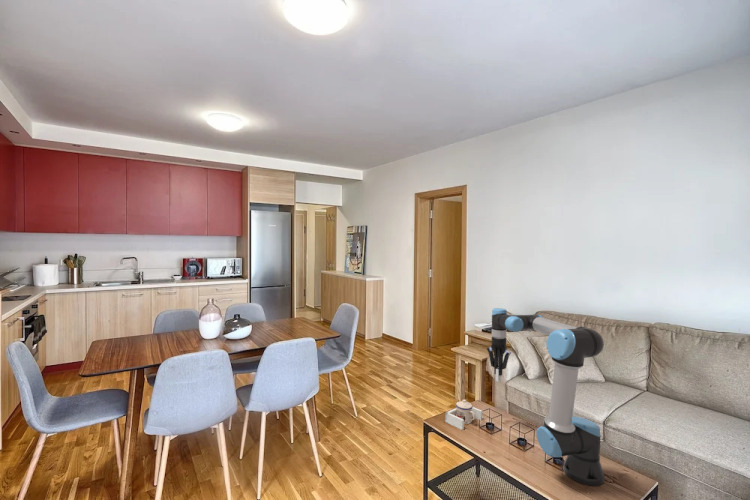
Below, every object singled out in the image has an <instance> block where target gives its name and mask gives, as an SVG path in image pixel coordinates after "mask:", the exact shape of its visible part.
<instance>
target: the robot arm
mask: <svg viewBox="0 0 750 500" xmlns="http://www.w3.org/2000/svg"><path fill="white" fill-rule="evenodd" d="M523 330H524V331H525V330H526V331H527V330H532V331H534V332H538V333H541V334H543V335H546V336H548V337H547V339H546V349H547V353H548V354H549V355H550V357H551V360H552V361H553V363H554V368H553V378H552V386H551V396H550V403H549V410H548V412H549V413H548V415H546V416H545V417H544V418H543V419H544V422H543V425H540V426H539V427H538V428H537V429H536V431H535V433H536V439H537V443H538V445H539V447H540V448H541V450H542V451H543V452H544V454H546V455H547V456H549V457H550V458H561V457H566V458H565V461H564V463H563V472H564V473H565V475H566V476H567V477H568V478H570V479H571V480H573V481H575V482H577V483H579V484H583V485H585V486H591V487H596V486H601V485H603V484H604V483H605V473H604V469H603V466H602V464H601V437H602V436H601V435H602V434H601V428H600V426H599V425H598V424H597V423H595V422H594V421H592V420H589V419H586V418H584V417H579V416H573V415H574V409H575V399H576V391H577V383H578V375H579V369H581V368H583V367H584V364H585V358H587V359H588V358H593V357H596V356H599V355H600V354H601V352H603V350H604V345H605V342H604V339H603V337H602V335H601V334H600V333H599V331H596V330H595V329H593V328H590V327H585V326H581V325H580V326H577V327H576V326H573V325H569V324H567V323H566V324H565V323H562V322H559V321H554V320H552V319H548V318H545V317H544V316H542V315H541V314H514V315H513V314H508V311H507V309H506V308H502V307H500V308H499V307H495V308H493V309H492V311H491V345H490V347H488V348H486V350H487V352H488V356H489V361H490V366H491V367H493V368H494V371H493V372H494V375H495V382H497V383H499V382H501V381H502V376H503V370H505V369H507V366H508V362H509V358H510V355H511V354H512V352H510V351H508V350H507V349H508V348H507V331H510V332H514V333H515V332H516V333H518V332H520V331H523Z"/></svg>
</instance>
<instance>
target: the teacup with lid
mask: <svg viewBox="0 0 750 500" xmlns="http://www.w3.org/2000/svg"><path fill="white" fill-rule="evenodd" d="M455 406H456V407H455V408H456V416H457V417H459V418H461V419H463V420H464V425H469V424H471V423H472V421H474V420H475V419H476V418H475V414H474V412H473V411H472V407H474V406H473V405H472V403H471V402H469V401H467V400H466V399H462V400H461V401H457V402H456V404H455ZM472 414H473V417H472Z"/></svg>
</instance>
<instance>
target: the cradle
mask: <svg viewBox="0 0 750 500" xmlns="http://www.w3.org/2000/svg"><path fill="white" fill-rule="evenodd" d="M472 411H473V412H474V414H475V419H476V420H479V421H483V410H481V409H479V408H476V407H474V406H473V407H472ZM472 418H473V414H472ZM444 422H445V423H447V424H449V425H451V426H453V427H456V428H457V429H459V430H462V431H463V430H465V424H464V420H463V419H461V418H459V417H457V416H456V407H455V408H453V409H451V410H448V411H446V412H444Z"/></svg>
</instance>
